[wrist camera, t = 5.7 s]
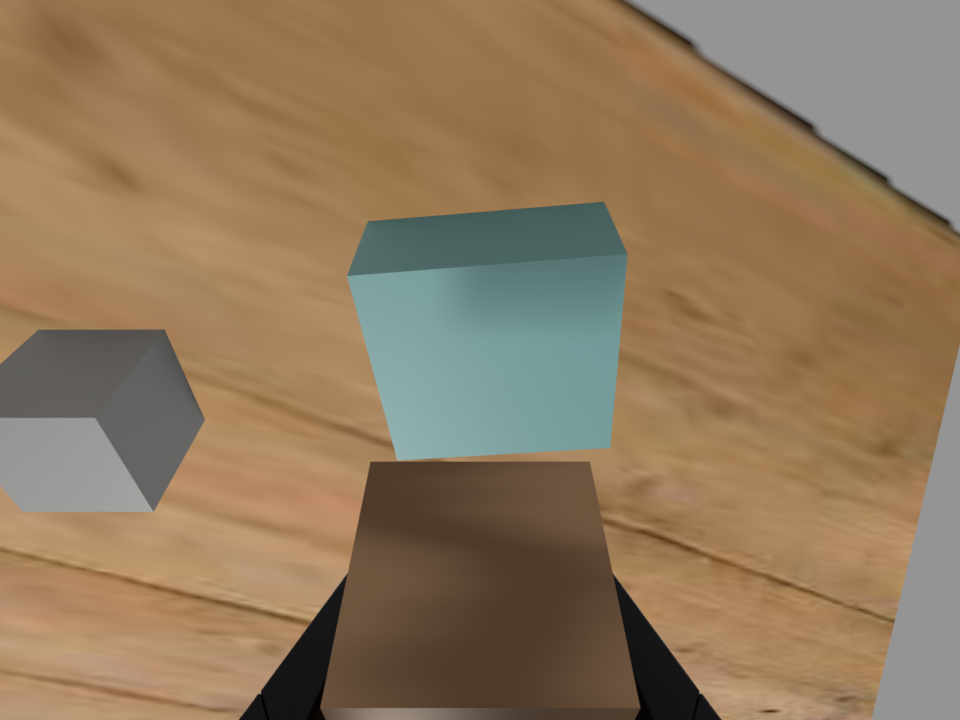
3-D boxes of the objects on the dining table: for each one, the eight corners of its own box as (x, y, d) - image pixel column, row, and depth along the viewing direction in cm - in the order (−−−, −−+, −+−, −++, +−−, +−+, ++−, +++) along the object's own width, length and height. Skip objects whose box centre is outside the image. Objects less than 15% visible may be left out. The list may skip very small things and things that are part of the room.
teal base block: (408, 390, 24) (397, 460, 21) (369, 217, 19) (347, 275, 16) (592, 377, 23) (610, 447, 20) (602, 198, 18) (627, 254, 15)
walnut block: (392, 578, 16) (362, 797, 12) (370, 461, 12) (320, 707, 8) (567, 577, 16) (597, 797, 12) (590, 461, 12) (640, 708, 8)
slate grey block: (95, 418, 25) (22, 511, 21) (39, 328, 22) (-59, 417, 18) (205, 418, 25) (153, 511, 21) (165, 328, 22) (95, 417, 18)
